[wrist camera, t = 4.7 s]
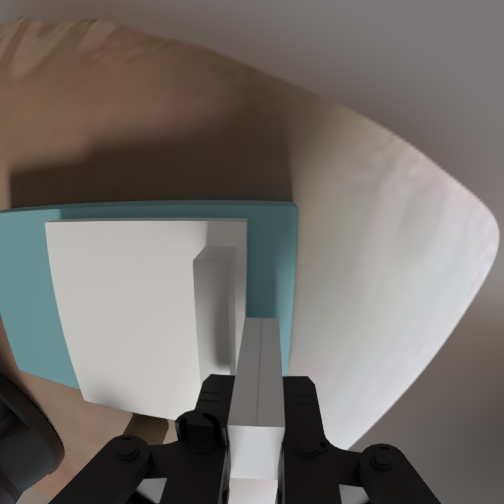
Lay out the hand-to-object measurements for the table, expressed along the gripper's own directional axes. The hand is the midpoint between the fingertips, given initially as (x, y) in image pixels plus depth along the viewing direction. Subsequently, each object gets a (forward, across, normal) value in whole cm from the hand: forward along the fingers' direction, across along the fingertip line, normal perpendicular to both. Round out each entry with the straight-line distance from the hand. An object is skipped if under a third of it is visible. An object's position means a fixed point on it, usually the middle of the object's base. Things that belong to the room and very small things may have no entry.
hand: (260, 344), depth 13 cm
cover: (+1, -6, 0) cm, 6 cm away
